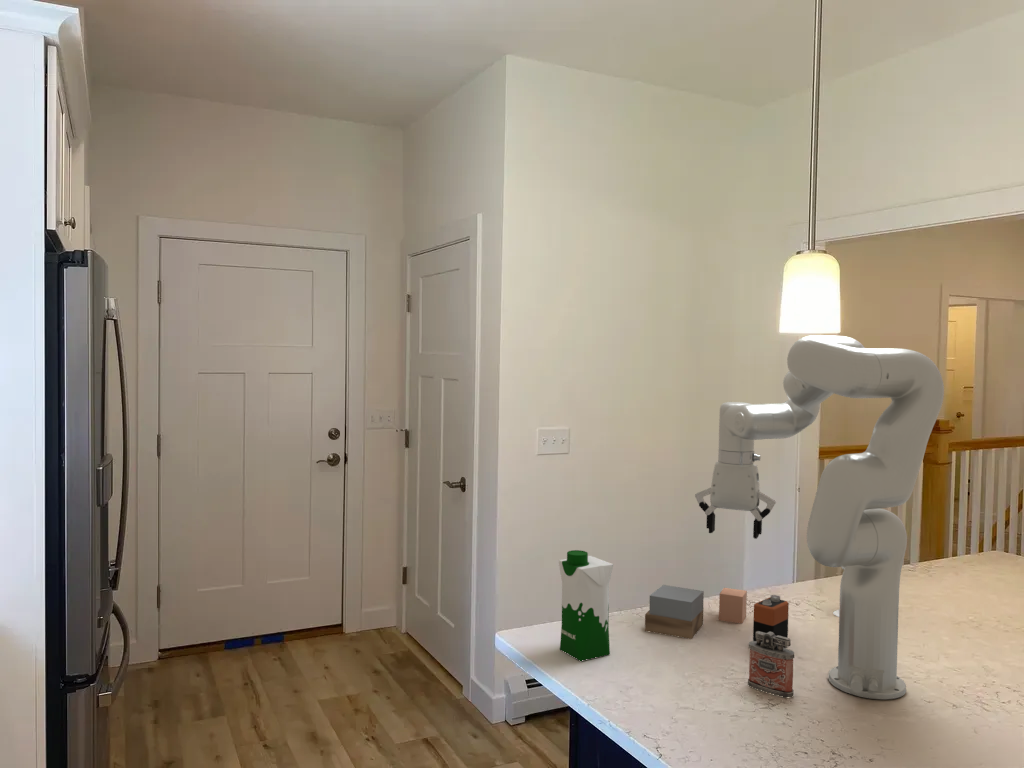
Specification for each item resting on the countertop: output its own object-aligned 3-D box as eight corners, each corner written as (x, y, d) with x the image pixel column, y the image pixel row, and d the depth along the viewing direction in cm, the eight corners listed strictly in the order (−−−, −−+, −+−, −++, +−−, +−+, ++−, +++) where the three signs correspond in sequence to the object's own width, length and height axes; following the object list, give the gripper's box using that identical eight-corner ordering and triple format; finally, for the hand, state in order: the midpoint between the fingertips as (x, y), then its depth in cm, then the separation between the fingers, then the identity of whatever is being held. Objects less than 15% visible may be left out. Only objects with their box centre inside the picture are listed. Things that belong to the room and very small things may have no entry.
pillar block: (742, 624, 171) (742, 596, 170) (719, 620, 173) (719, 593, 173) (746, 617, 175) (746, 590, 175) (723, 613, 177) (724, 587, 177)
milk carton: (553, 649, 155) (554, 549, 154) (590, 641, 159) (591, 543, 159) (579, 664, 147) (580, 559, 146) (617, 655, 152) (618, 553, 151)
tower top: (691, 621, 161) (691, 602, 161) (649, 614, 166) (649, 595, 165) (703, 609, 169) (703, 591, 169) (663, 602, 173) (663, 584, 173)
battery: (788, 646, 158) (789, 597, 157) (772, 654, 153) (773, 604, 153) (768, 640, 161) (769, 592, 160) (751, 648, 156) (752, 599, 156)
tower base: (691, 640, 161) (692, 621, 161) (644, 632, 166) (645, 614, 165) (703, 626, 170) (703, 607, 170) (658, 618, 175) (658, 601, 174)
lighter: (744, 686, 138) (745, 630, 138) (753, 680, 141) (754, 625, 140) (788, 700, 133) (789, 642, 132) (796, 693, 135) (798, 636, 135)
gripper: (779, 459, 172) (776, 535, 173) (700, 453, 180) (698, 526, 181) (774, 463, 165) (771, 543, 166) (692, 457, 173) (690, 533, 174)
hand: (733, 534), depth 173 cm, fingers open, 9 cm apart
